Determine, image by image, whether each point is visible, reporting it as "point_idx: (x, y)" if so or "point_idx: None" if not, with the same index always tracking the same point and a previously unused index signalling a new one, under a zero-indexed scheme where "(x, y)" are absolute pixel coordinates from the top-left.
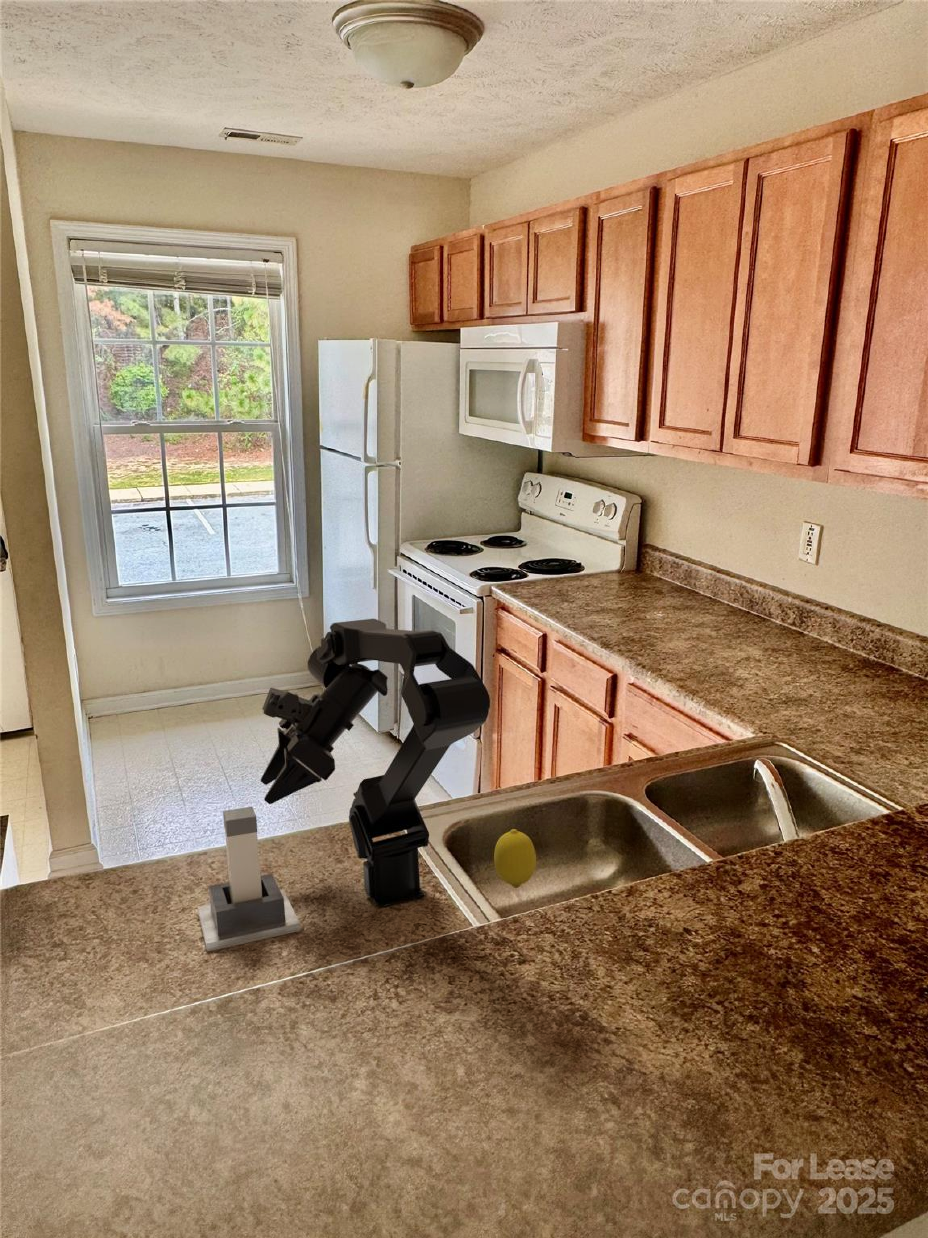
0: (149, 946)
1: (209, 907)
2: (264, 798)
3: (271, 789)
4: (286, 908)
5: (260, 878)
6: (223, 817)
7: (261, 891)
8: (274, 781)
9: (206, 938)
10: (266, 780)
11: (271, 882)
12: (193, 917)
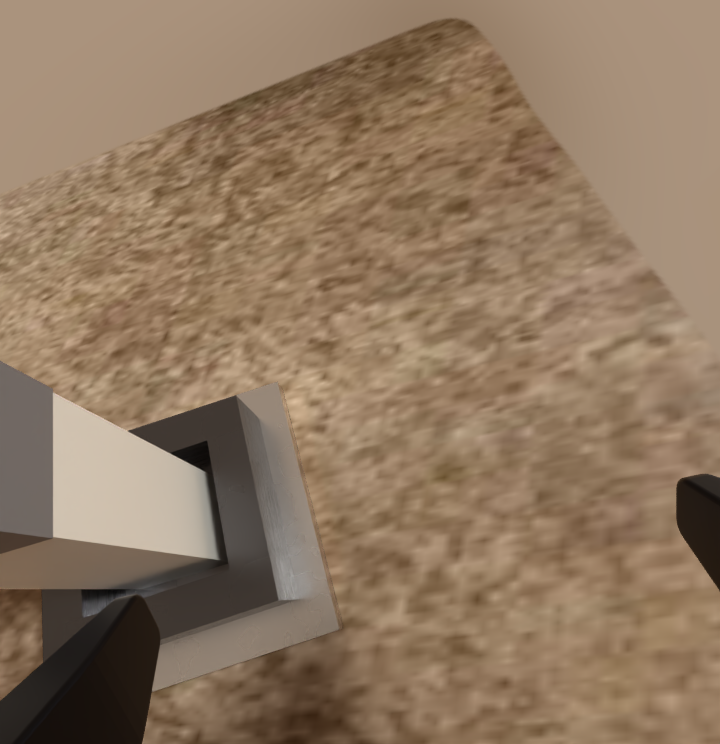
0: (151, 325)
1: (264, 413)
2: (121, 598)
3: (18, 688)
4: (185, 659)
5: (59, 588)
6: (11, 370)
7: (92, 588)
8: (7, 741)
9: None
10: (700, 530)
11: (195, 610)
12: (270, 381)
